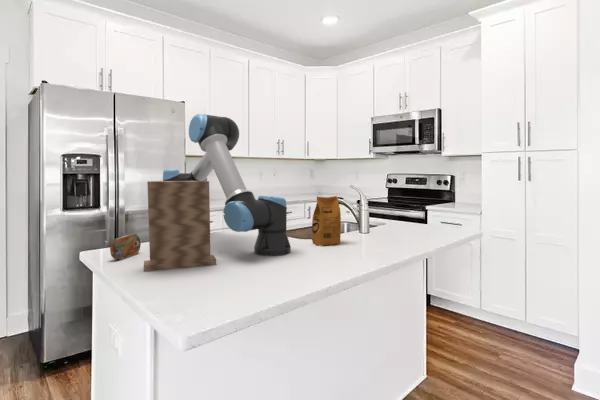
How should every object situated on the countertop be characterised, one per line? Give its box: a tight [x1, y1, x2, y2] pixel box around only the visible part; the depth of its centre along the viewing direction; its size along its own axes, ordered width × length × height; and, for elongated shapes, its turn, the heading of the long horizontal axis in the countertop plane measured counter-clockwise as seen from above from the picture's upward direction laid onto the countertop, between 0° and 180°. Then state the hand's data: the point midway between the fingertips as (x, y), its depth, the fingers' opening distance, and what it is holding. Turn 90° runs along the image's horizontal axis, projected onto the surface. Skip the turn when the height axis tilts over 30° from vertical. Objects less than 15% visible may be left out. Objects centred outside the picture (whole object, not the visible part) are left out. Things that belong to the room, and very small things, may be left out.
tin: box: [109, 233, 141, 261], centre depth 142 cm, size 15×3×8 cm, turn 168°
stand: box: [143, 180, 217, 272], centre depth 129 cm, size 24×7×30 cm, turn 112°
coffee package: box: [311, 195, 342, 246], centre depth 168 cm, size 10×12×22 cm
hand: (176, 206), depth 148 cm, fingers closed on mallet, 3 cm apart
